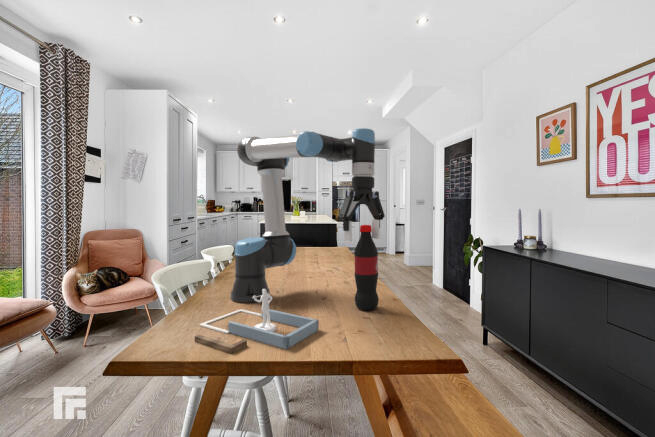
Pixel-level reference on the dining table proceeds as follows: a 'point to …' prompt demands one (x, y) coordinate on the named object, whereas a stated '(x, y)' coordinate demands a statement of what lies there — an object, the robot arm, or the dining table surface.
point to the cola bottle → (366, 271)
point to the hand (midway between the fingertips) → (362, 239)
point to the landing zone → (224, 317)
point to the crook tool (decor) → (221, 344)
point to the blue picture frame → (275, 339)
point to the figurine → (265, 312)
